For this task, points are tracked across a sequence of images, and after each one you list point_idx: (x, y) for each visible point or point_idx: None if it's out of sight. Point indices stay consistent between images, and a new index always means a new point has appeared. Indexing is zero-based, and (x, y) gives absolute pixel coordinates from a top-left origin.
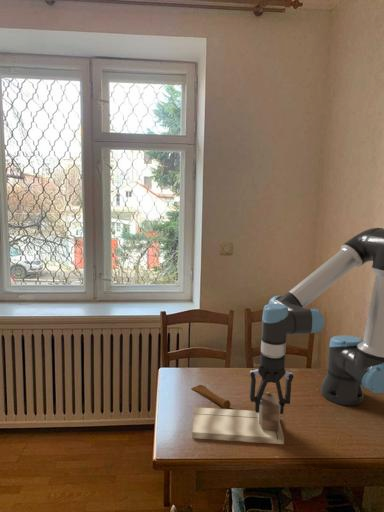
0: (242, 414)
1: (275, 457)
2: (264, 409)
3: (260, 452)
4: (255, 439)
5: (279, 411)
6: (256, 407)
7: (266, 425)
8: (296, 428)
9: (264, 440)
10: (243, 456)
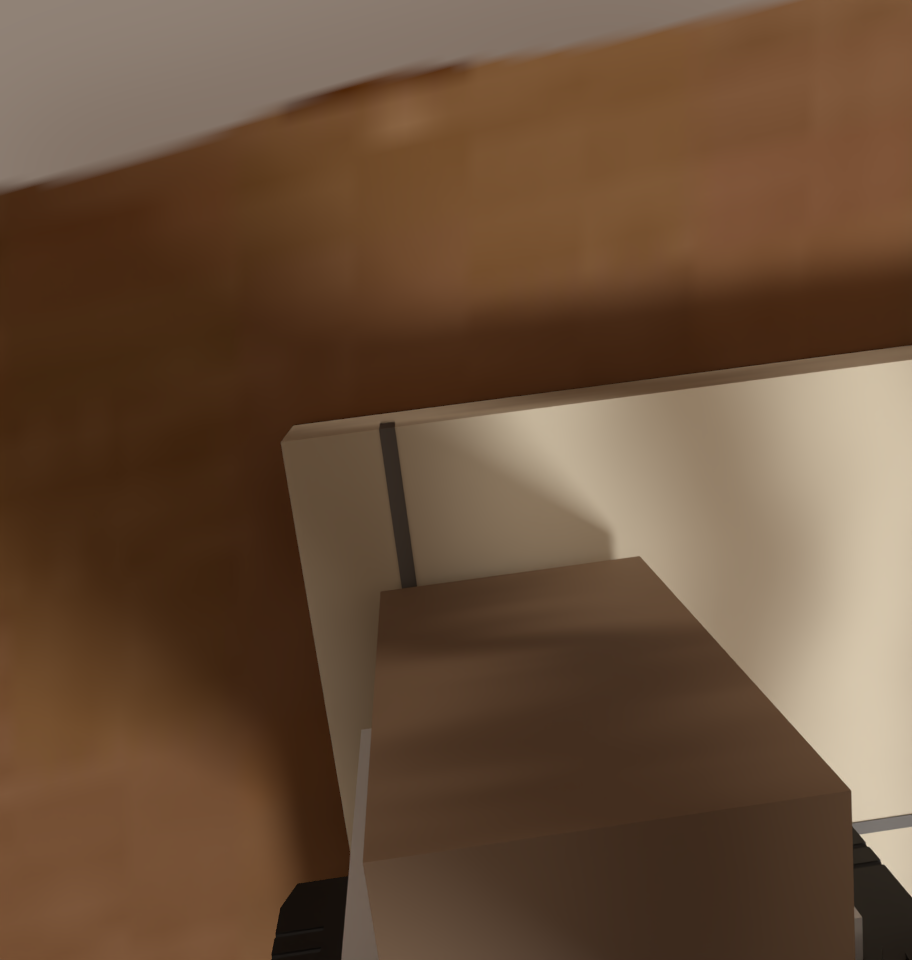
0: (905, 876)
1: (417, 88)
2: (763, 735)
3: (631, 156)
4: (714, 376)
5: (360, 890)
6: (872, 878)
7: (585, 592)
8: (117, 824)
9: (579, 395)
10: (877, 4)
